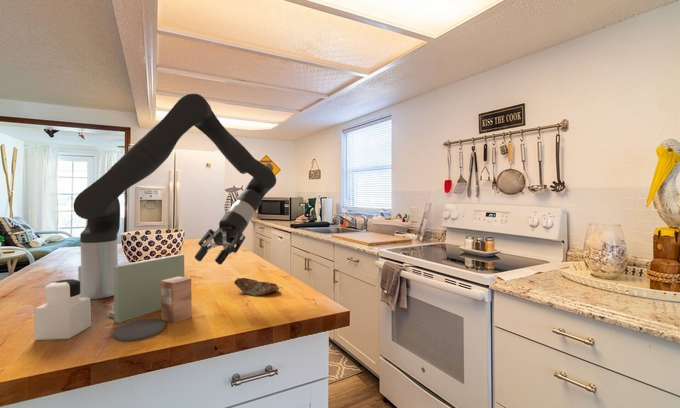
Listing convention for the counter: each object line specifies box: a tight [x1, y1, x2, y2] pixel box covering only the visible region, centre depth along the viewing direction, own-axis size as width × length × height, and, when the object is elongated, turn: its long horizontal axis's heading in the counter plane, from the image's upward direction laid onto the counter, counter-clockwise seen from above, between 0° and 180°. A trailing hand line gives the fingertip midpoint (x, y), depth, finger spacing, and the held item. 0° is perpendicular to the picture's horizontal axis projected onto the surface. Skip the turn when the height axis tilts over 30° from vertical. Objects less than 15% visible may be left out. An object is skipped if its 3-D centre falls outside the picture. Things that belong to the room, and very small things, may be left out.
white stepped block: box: [33, 278, 92, 341], centre depth 73 cm, size 7×7×12 cm
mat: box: [113, 317, 166, 342], centre depth 74 cm, size 10×10×1 cm
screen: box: [107, 253, 185, 324], centre depth 88 cm, size 18×7×14 cm, turn 152°
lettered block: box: [160, 276, 193, 324], centre depth 82 cm, size 5×5×10 cm
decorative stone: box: [233, 277, 280, 297], centre depth 104 cm, size 10×4×15 cm
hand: (207, 261), depth 90 cm, fingers open, 8 cm apart
